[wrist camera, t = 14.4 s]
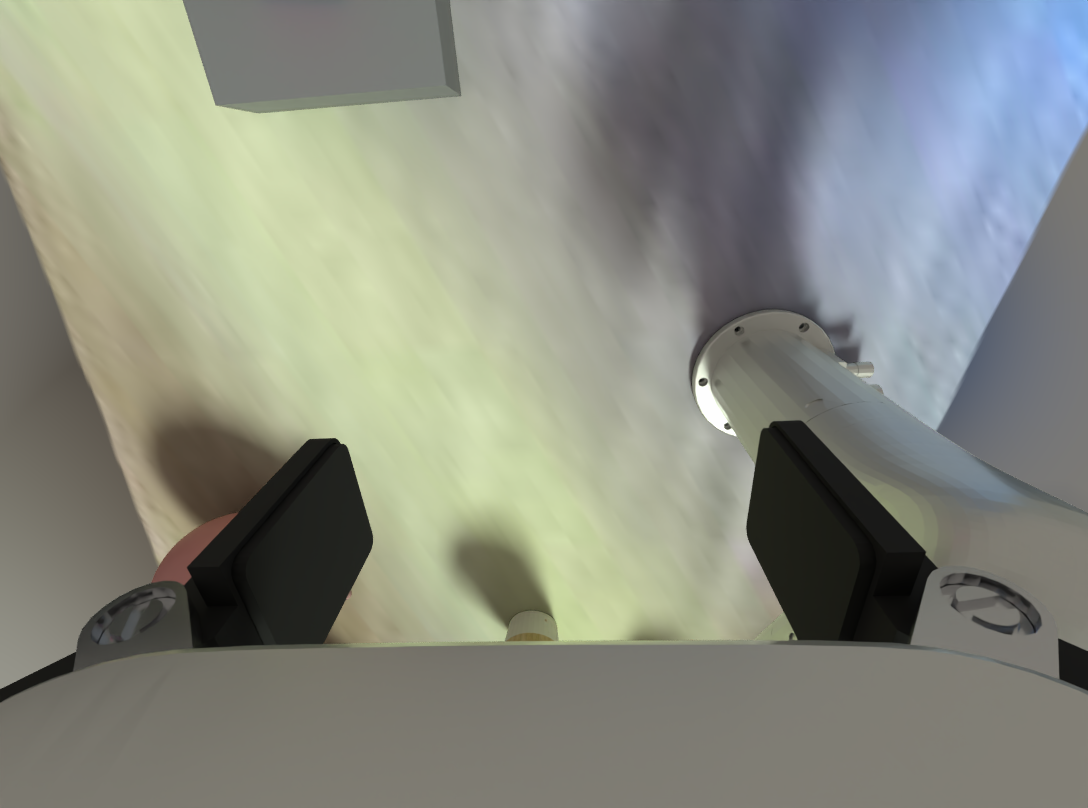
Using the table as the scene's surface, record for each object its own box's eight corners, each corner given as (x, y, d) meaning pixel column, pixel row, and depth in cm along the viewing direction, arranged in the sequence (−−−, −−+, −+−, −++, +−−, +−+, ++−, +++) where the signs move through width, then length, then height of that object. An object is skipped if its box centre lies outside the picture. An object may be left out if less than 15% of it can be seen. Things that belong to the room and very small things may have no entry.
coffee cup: (482, 637, 62) (460, 765, 49) (515, 589, 58) (500, 714, 45) (549, 661, 64) (545, 792, 51) (585, 617, 60) (591, 746, 47)
